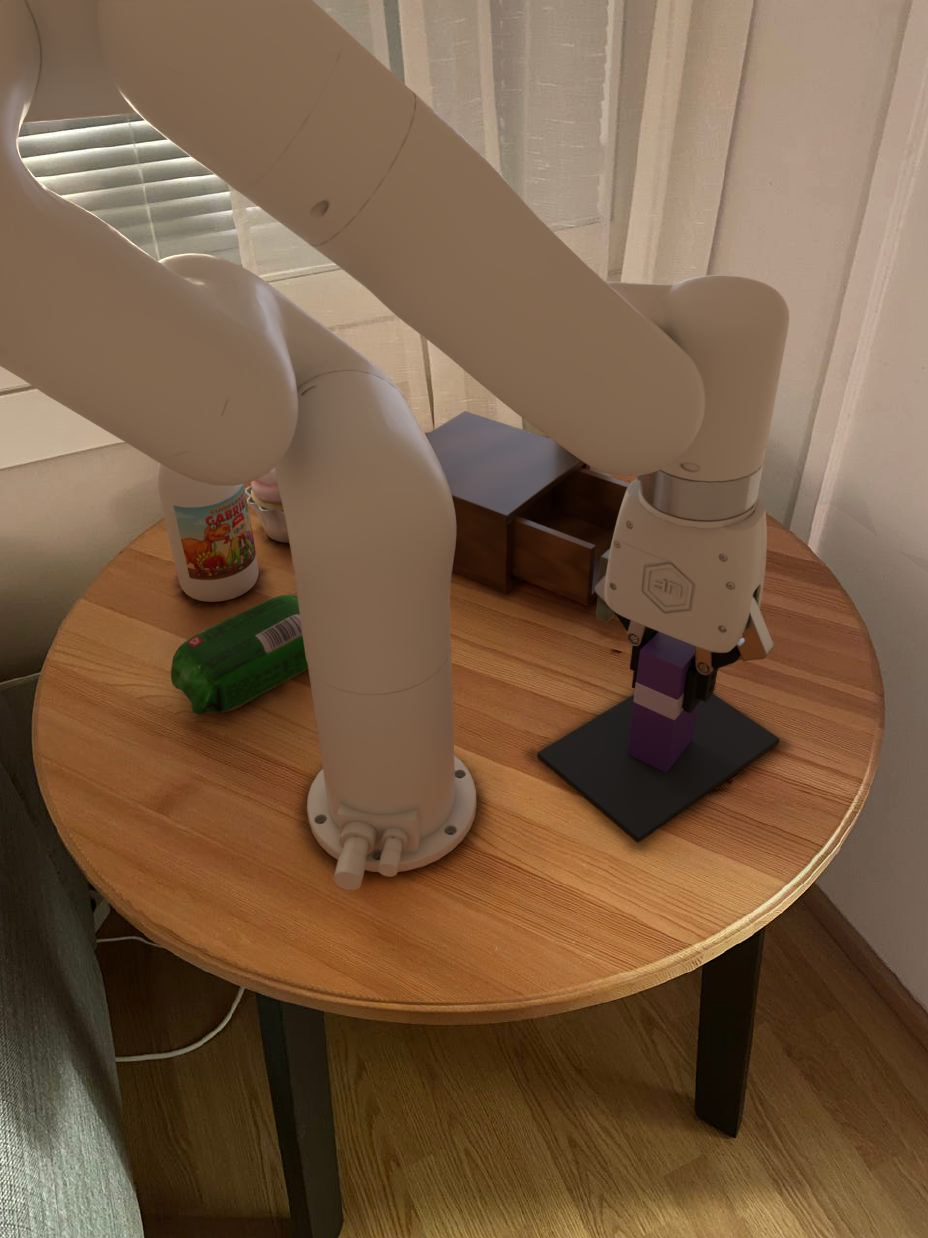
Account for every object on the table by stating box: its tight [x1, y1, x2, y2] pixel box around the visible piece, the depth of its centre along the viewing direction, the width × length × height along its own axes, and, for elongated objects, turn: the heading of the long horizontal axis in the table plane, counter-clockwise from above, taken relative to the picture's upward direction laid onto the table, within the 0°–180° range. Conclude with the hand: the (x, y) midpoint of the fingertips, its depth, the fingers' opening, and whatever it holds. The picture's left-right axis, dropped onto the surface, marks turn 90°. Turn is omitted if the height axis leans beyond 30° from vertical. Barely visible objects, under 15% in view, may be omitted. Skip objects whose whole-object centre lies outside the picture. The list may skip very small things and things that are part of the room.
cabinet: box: [425, 410, 590, 594], centre depth 102 cm, size 16×15×9 cm
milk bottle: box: [156, 462, 260, 603], centre depth 93 cm, size 8×8×20 cm
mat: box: [536, 692, 780, 844], centre depth 79 cm, size 16×11×1 cm
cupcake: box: [245, 468, 290, 544], centre depth 103 cm, size 9×9×10 cm
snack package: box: [170, 594, 309, 716], centre depth 86 cm, size 7×16×5 cm, turn 131°
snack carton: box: [627, 631, 698, 773], centre depth 76 cm, size 4×4×10 cm
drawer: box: [511, 467, 631, 624], centre depth 96 cm, size 19×14×7 cm
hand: (670, 688), depth 76 cm, fingers closed on snack carton, 3 cm apart
